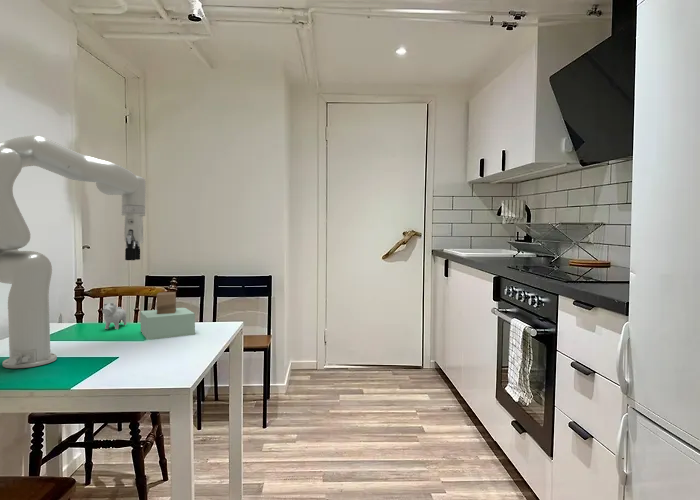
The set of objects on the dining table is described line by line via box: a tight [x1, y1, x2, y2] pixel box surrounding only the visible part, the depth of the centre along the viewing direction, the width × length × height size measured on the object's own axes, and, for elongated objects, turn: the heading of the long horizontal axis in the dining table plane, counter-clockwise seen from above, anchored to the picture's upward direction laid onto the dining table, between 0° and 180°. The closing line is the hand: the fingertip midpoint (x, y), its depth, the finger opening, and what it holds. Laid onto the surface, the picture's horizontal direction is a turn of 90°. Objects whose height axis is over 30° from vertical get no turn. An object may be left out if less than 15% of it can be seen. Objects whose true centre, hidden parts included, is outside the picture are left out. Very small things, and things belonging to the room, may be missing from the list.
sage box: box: [139, 307, 196, 341], centre depth 168 cm, size 16×16×8 cm
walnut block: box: [156, 291, 177, 314], centre depth 168 cm, size 6×6×7 cm
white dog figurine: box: [101, 301, 128, 330], centre depth 177 cm, size 5×13×11 cm, turn 2°
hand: (132, 259), depth 161 cm, fingers open, 9 cm apart
